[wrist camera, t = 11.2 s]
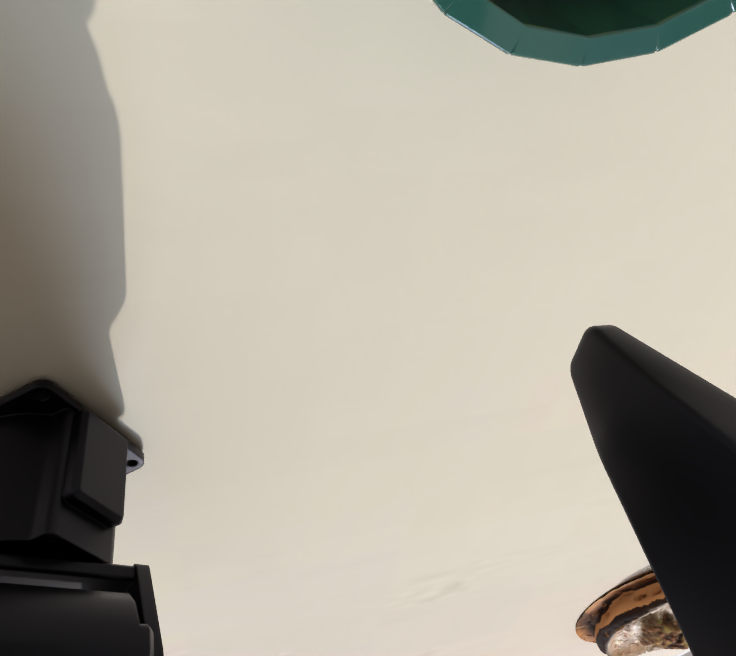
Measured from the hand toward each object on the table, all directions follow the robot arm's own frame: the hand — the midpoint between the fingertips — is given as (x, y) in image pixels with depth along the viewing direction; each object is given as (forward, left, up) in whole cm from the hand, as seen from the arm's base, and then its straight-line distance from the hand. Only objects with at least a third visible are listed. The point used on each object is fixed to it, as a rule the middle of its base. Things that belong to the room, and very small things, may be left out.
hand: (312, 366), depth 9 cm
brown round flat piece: (+8, -58, -13) cm, 60 cm away
